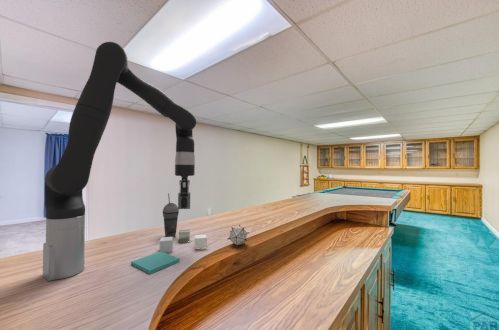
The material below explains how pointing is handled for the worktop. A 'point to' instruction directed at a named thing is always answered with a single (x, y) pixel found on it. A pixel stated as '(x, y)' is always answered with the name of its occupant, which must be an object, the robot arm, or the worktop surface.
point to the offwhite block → (200, 241)
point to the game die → (238, 235)
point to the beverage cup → (170, 219)
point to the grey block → (166, 244)
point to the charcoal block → (180, 200)
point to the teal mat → (155, 262)
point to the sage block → (184, 235)
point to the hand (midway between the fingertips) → (184, 206)
